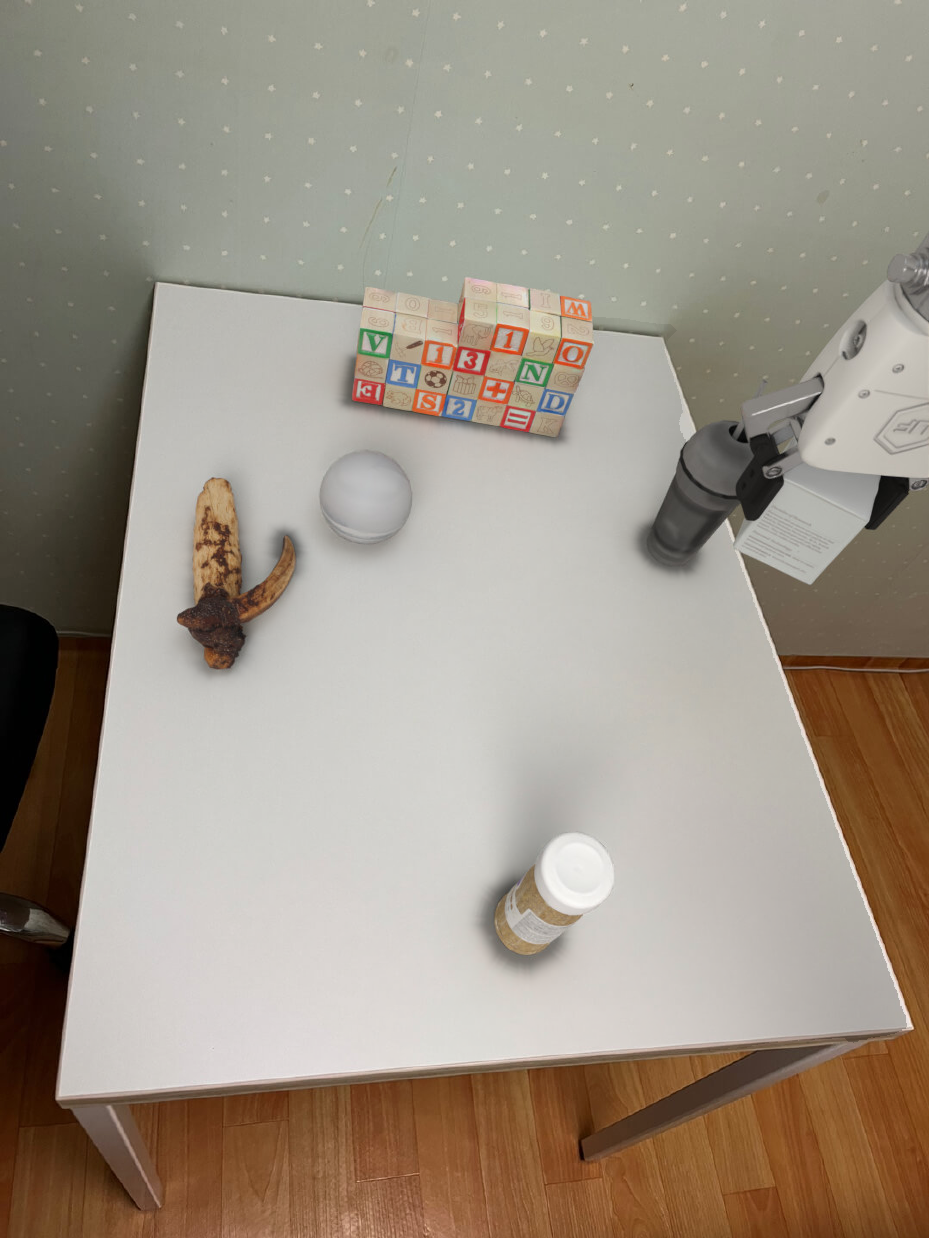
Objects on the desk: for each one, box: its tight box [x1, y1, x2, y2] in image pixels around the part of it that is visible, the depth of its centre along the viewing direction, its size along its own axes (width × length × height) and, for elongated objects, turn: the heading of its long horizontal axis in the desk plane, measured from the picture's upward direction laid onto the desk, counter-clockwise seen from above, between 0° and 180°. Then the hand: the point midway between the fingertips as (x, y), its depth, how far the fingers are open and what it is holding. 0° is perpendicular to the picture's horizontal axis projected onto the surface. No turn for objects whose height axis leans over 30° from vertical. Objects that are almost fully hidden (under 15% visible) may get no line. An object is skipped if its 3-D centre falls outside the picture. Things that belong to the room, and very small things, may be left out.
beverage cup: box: [646, 379, 769, 567], centre depth 75 cm, size 7×7×20 cm
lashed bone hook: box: [176, 476, 297, 670], centre depth 70 cm, size 9×5×18 cm
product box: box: [732, 436, 881, 586], centre depth 58 cm, size 6×6×7 cm
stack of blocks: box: [351, 276, 595, 438], centre depth 84 cm, size 21×6×12 cm, turn 88°
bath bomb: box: [318, 449, 413, 545], centre depth 74 cm, size 8×8×8 cm
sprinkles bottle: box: [493, 831, 616, 956], centre depth 56 cm, size 5×5×13 cm
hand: (805, 508), depth 58 cm, fingers closed on product box, 8 cm apart
